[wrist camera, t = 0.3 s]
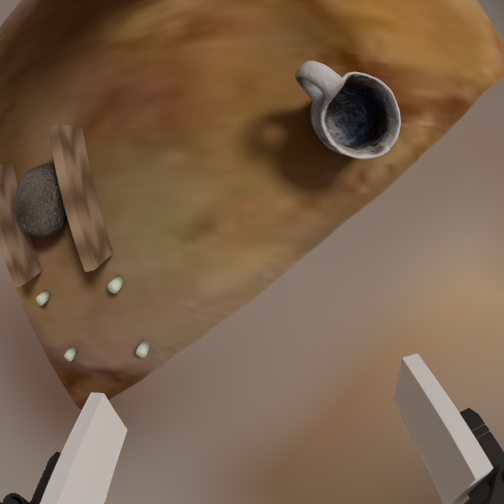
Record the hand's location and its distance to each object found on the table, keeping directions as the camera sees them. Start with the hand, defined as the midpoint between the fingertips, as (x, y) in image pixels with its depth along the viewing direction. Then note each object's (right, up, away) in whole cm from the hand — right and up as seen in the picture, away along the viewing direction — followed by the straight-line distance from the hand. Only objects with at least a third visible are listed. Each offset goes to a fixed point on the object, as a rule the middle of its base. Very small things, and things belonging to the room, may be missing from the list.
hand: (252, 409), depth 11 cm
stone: (-29, +14, +24) cm, 40 cm away
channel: (-29, +13, +24) cm, 39 cm away
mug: (+9, +23, +21) cm, 33 cm away
